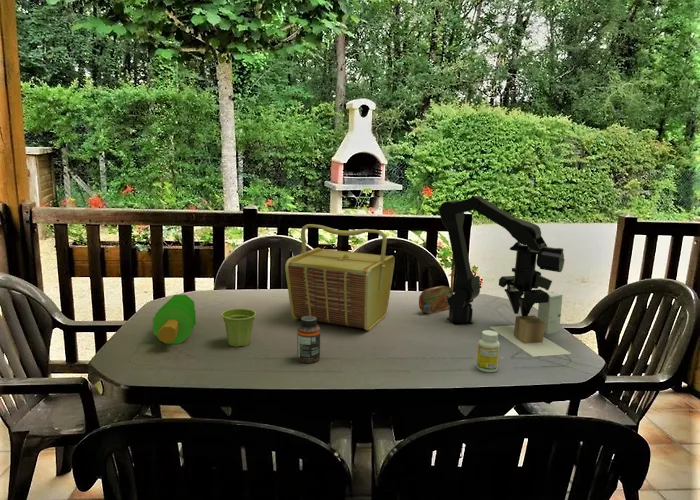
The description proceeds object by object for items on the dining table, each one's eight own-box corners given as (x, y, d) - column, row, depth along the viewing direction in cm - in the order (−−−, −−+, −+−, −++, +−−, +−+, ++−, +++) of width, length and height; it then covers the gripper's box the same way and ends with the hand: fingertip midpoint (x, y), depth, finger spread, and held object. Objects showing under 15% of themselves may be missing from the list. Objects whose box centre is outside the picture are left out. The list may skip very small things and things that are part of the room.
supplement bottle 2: (492, 374, 139) (495, 338, 137) (472, 368, 142) (475, 332, 140) (501, 368, 143) (504, 332, 141) (482, 362, 146) (485, 327, 144)
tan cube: (513, 335, 166) (524, 343, 160) (515, 316, 164) (526, 324, 159) (531, 333, 167) (542, 342, 162) (533, 315, 166) (545, 323, 160)
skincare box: (547, 335, 169) (551, 297, 166) (535, 331, 172) (538, 293, 170) (559, 332, 172) (563, 294, 170) (547, 327, 176) (551, 290, 173)
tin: (423, 316, 185) (424, 291, 183) (416, 313, 187) (417, 289, 185) (453, 308, 194) (454, 285, 192) (446, 306, 196) (447, 283, 195)
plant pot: (262, 340, 158) (262, 310, 157) (245, 351, 149) (245, 320, 148) (233, 335, 161) (233, 306, 160) (215, 346, 152) (214, 316, 151)
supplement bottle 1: (305, 353, 149) (306, 313, 147) (324, 358, 146) (325, 317, 144) (292, 360, 144) (292, 318, 142) (311, 365, 141) (312, 323, 139)
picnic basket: (281, 323, 173) (281, 228, 167) (316, 302, 197) (318, 218, 191) (369, 338, 162) (372, 236, 157) (395, 314, 186) (399, 225, 180)
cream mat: (533, 357, 151) (533, 356, 151) (488, 327, 174) (489, 326, 174) (571, 354, 153) (571, 353, 153) (523, 325, 177) (523, 324, 177)
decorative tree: (155, 308, 144) (174, 276, 173) (139, 346, 146) (161, 308, 175) (197, 323, 147) (208, 289, 176) (181, 361, 149) (195, 321, 178)
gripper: (568, 273, 157) (562, 325, 161) (531, 257, 175) (526, 304, 179) (533, 275, 155) (528, 328, 158) (499, 259, 172) (495, 306, 176)
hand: (520, 316), depth 168 cm, fingers open, 4 cm apart
